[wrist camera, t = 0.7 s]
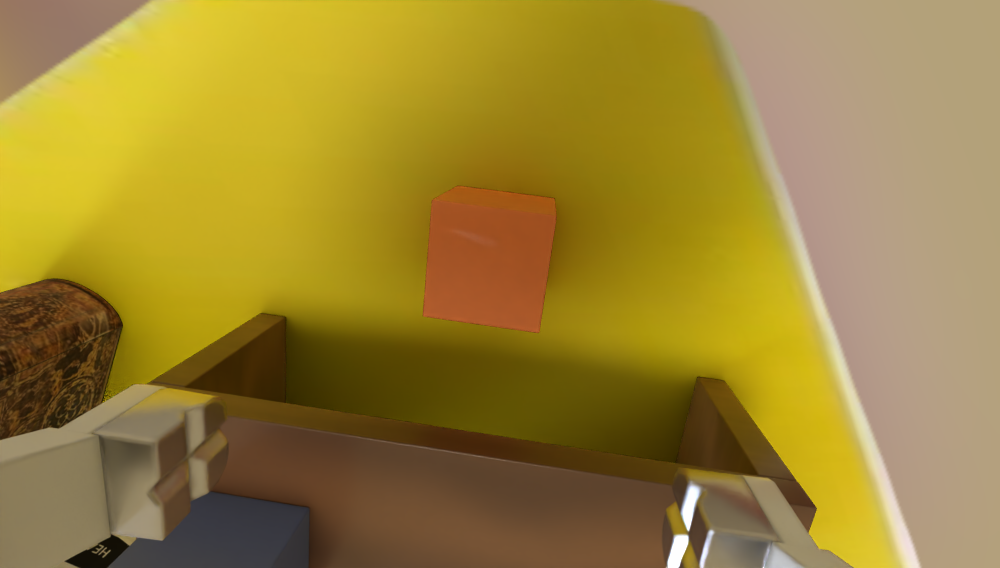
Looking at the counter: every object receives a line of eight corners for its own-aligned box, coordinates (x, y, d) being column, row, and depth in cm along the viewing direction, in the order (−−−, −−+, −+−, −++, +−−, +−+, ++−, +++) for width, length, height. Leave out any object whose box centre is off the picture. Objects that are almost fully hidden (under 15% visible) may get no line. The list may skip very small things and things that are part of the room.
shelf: (260, 312, 29) (120, 399, 20) (724, 380, 28) (818, 508, 18) (263, 490, 33) (145, 637, 23) (677, 557, 31) (734, 744, 22)
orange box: (457, 185, 26) (431, 199, 20) (554, 198, 26) (556, 215, 20) (448, 279, 28) (422, 316, 22) (541, 291, 27) (539, 333, 22)
